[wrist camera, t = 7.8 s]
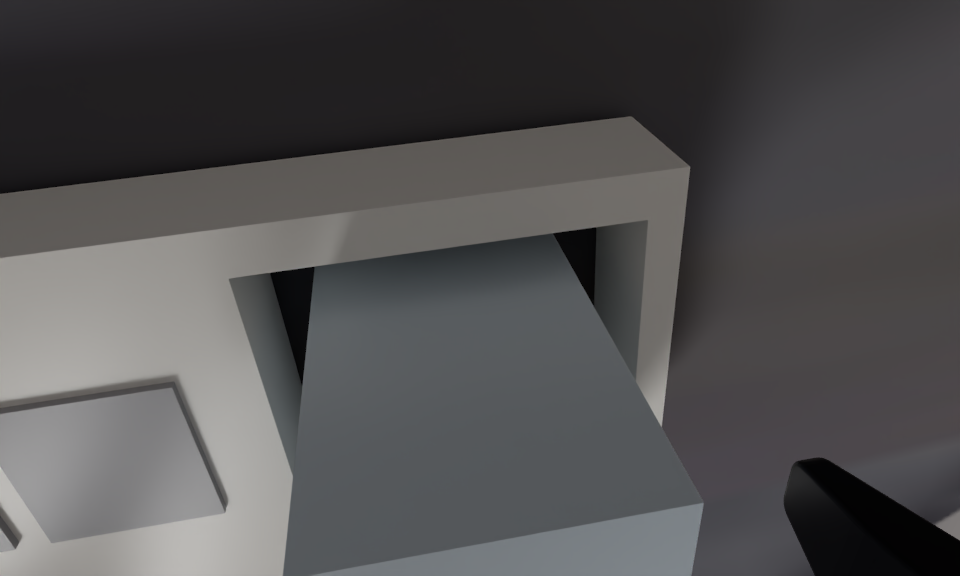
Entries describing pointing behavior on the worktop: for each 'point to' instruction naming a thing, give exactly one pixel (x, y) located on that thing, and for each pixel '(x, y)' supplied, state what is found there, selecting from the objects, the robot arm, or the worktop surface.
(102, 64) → the worktop surface
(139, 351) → the power strip
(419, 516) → the box
